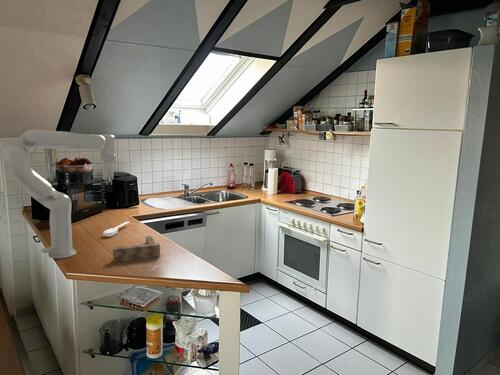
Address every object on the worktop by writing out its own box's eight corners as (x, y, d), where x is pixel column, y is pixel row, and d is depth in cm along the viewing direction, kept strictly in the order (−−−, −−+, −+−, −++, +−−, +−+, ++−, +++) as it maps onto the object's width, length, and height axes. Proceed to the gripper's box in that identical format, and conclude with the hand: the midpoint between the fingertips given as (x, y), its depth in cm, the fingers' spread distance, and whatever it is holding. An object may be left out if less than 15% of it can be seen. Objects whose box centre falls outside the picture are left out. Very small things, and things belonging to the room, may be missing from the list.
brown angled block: (113, 262, 185) (113, 249, 184) (109, 246, 209) (109, 234, 208) (159, 257, 194) (159, 244, 193) (151, 241, 218) (151, 230, 216)
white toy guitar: (124, 225, 250) (124, 221, 250) (132, 226, 249) (132, 221, 249) (100, 237, 223) (100, 232, 223) (110, 237, 222) (109, 233, 222)
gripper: (99, 156, 210) (101, 189, 214) (101, 159, 197) (102, 194, 200) (114, 156, 213) (115, 189, 216) (116, 159, 200) (117, 194, 203)
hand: (109, 191), depth 208 cm, fingers closed
